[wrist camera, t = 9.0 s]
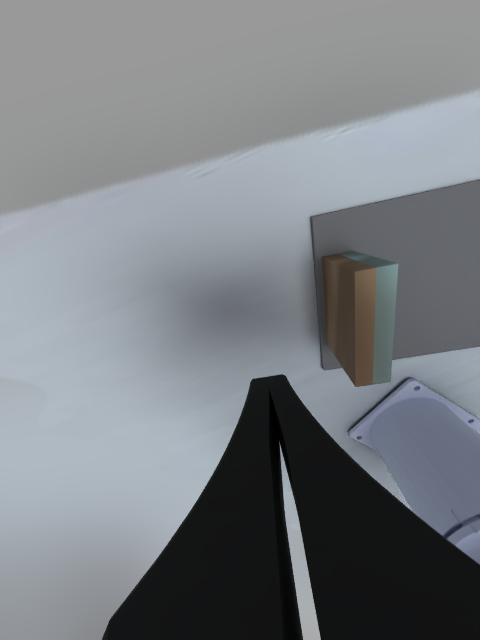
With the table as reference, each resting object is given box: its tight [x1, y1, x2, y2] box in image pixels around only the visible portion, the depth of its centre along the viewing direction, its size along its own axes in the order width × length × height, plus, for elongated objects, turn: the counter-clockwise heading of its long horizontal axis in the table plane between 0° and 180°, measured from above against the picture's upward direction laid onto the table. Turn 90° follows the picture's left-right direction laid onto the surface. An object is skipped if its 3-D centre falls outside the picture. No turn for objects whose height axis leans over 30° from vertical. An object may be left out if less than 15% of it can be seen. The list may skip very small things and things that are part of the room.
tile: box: [322, 251, 398, 387], centre depth 15 cm, size 2×7×5 cm, turn 12°
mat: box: [311, 180, 480, 370], centre depth 16 cm, size 16×12×1 cm
